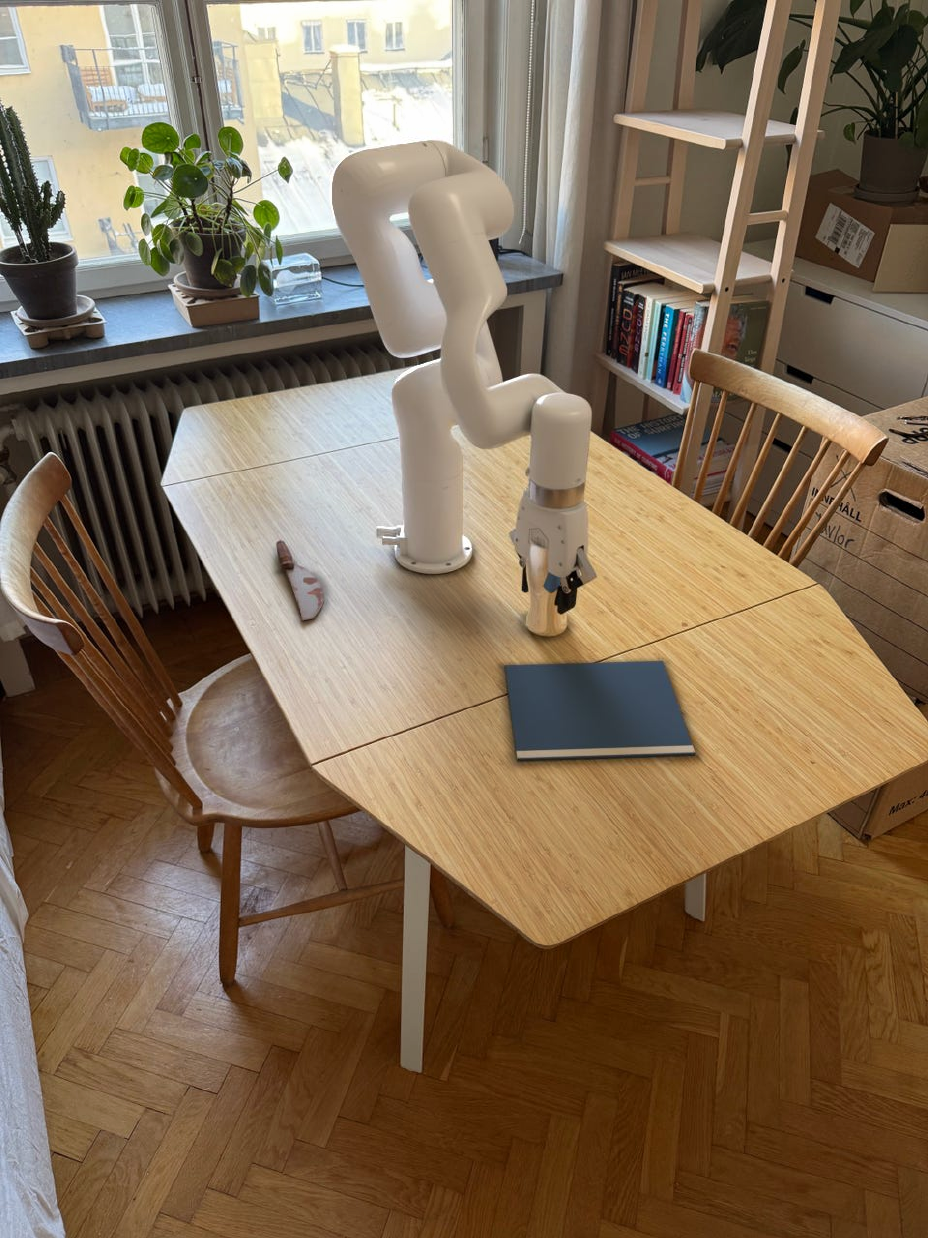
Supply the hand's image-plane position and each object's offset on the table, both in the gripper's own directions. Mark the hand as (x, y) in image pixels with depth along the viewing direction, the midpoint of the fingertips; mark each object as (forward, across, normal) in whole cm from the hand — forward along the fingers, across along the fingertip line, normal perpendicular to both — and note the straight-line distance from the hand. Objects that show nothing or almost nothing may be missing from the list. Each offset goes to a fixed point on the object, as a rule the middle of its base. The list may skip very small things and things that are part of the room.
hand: (548, 598), depth 132 cm
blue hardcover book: (+5, +17, -8) cm, 20 cm away
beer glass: (+5, 0, 0) cm, 5 cm away
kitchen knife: (+5, -33, -20) cm, 39 cm away
